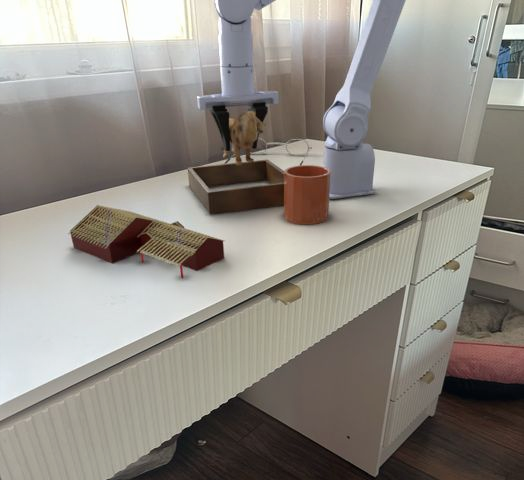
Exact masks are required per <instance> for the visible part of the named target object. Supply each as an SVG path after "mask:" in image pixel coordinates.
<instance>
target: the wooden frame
mask: <svg viewBox="0 0 524 480" xmlns="http://www.w3.org/2000/svg"><path fill="white" fill-rule="evenodd" d="M235 163H236V162H229V163H228V162H227V163H226V164H225V163H219V164H218V163H217V164H210V165H200V166H190V167H187V179H188V187H189V188H190V190H191V191H192V192H193V194H194V195H195V196H196V198H197V199H198V201H199V202H200V203H201V205H202V206H203V207H204V209H205V210H206V212H207V213H208V214H209V215H215V214H223V213H232V212H240V211H248V210H256V209H262V208H263V209H264V208H270V207H271V208H272V207H279V206H284V169H282V168H280V166H278V165H276V164H275V163H274V162H272V161H271V160H269V159H259V160H254V161H253V162H247V161H242V165H235ZM265 180H266V181H267V182H268V183H267V184H260V185H250V186H242V187H233V188H225V189H224V188H223V189H216V190H211V189H210V188H209V187H211V186H219V185H229V184H238V183H247V182H248V183H249V182H255V181H256V182H257V181H265Z"/></svg>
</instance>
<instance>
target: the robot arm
mask: <svg viewBox="0 0 524 480" xmlns="http://www.w3.org/2000/svg"><path fill="white" fill-rule="evenodd" d="M275 1H277V0H215V1H214V8H215V11H216V13H217V15H218V16H219V17H218V23H217V24H218V25H217V26H218V31H219V34H218V50H219V51H218V52H219V65H220V81H221V82H220V83H221V84H220V85H221V93H215V94H207V95H196V103H197V108H198V109H199V110H200V111H203V110H207V109H209V112H210V114H211V116H212V117H213V120H214V122H215V124H216V127H217V129H218V132H219V134H220V138H221V141H222V145H223V146H224V150H226V151H228V152H231V142H230V137H229V118H230V112H229V111H228V109H227V108H231V107H232V108H233V107H246V109H247V111H253V112H255V113H256V117H257V118H258V119H259V120H260V121H261V122H263V123H264V122H265V119H266V117H267V114H268V111H269V107H268V106H267V105H279V103H280V102H279V98H280V96H279V92H278V91H276V90H267V91H266V90H265V91H263V90H262V91H255V73H254V72H255V71H254V65H255V64H254V43H253V42H254V37H253V33H252V15H253V14H254V11H255V10H257V11H260V10H262V9H264V8H266V7H267V6H269V5H270V4H272V3H274V2H275ZM406 1H407V0H372V2H371V5H370V8H369V11H368V14H367V17H366V20H365V23H364V26H363V27H362V28H363V29H362V31H361V33H360V37H359V40H358V43H357V45H356V48H355V51H354V54H353V58H352V60H351V64H350V66H349V69H348V72H347V75H346V78H345V80H344V83H343V86H342V87H341V88H340V90H339V91H338V92H337V94H336V95H335V98H334V100H333V103H332V105H331V106H330V107H329V108H328V109H327V110H326V111H325V113H324V115H323V119H322V127H323V130H324V132H325V134H326V135H327V138H326V139H325V142H324V147H323V151H324V153H323V167H326V168H328V169H329V170H330V172H331V174H330V193H329V200H337V199H343V198H344V199H345V198H352V197H360V196H367V195H373V194H374V193H375V191H374V190H373V184H374V177H375V176H374V174H375V164H376V156H375V151H374V148H373V147H372V145H371V144H369V143H364V141H365V139H366V137H367V135H368V131H369V116H370V113H371V111H372V102H371V94H372V92H373V90H374V87H375V84H376V81H377V79H378V76H379V73H380V70H381V68H382V65H383V64H384V63H383V62H384V61H385V58H386V54H387V51H388V49H389V46H390V44H391V41H392V38H393V37H394V34H395V31H396V27H397V25H398V22H399V20H400V17H401V14H402V12H403V9H404V7H405V5H406ZM259 136H260V134H258V136H257V139H256V140H255V141H254V142H253V146H251V149H252V150H254V149H255V150H257V148H258V142H259V139H258V138H260V137H259ZM223 146H222V147H223ZM224 150H223V151H224Z"/></svg>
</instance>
